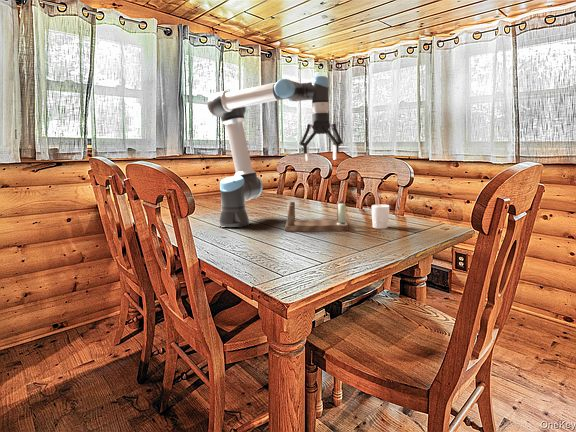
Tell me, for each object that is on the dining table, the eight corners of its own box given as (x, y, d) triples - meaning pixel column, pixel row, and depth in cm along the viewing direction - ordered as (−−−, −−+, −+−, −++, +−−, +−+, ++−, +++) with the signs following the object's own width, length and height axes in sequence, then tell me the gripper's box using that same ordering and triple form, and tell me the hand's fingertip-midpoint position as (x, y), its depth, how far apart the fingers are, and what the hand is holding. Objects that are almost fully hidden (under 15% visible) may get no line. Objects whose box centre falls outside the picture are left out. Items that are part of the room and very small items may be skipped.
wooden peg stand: (285, 231, 171) (284, 206, 168) (287, 225, 184) (286, 201, 181) (348, 230, 169) (348, 205, 167) (345, 224, 182) (345, 200, 180)
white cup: (389, 229, 169) (390, 207, 167) (371, 229, 171) (371, 207, 169) (388, 225, 177) (388, 204, 175) (371, 225, 179) (371, 204, 177)
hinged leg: (337, 220, 178) (337, 201, 176) (344, 220, 178) (344, 201, 176) (338, 224, 169) (338, 204, 168) (345, 224, 169) (345, 204, 167)
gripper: (296, 112, 164) (297, 161, 168) (349, 111, 171) (349, 159, 175) (291, 113, 171) (293, 161, 175) (342, 113, 178) (342, 158, 182)
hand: (321, 160), depth 175 cm, fingers open, 13 cm apart
